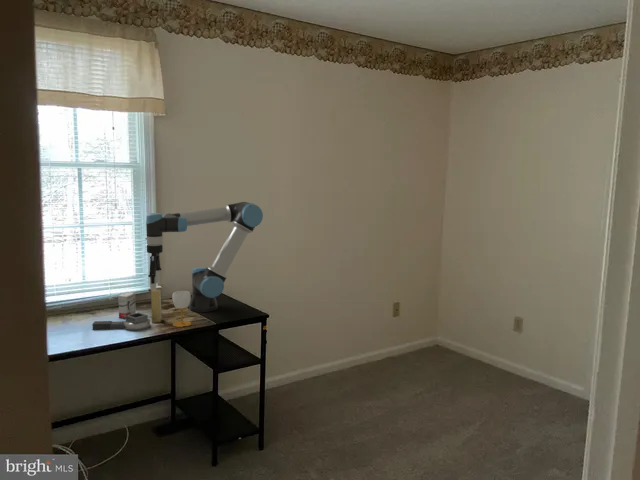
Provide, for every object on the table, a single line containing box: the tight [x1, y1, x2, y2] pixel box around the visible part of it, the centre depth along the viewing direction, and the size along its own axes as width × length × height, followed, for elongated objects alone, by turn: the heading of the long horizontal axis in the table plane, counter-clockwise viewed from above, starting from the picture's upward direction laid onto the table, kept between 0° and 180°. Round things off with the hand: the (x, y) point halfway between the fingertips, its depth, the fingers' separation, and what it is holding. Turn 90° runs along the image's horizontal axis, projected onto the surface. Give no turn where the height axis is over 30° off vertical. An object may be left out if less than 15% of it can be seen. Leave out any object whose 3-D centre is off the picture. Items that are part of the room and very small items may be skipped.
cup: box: [171, 290, 192, 328], centre depth 266 cm, size 9×9×16 cm
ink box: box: [117, 291, 137, 319], centre depth 278 cm, size 9×5×12 cm, turn 168°
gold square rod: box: [150, 288, 162, 323], centre depth 270 cm, size 4×4×16 cm
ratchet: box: [91, 311, 151, 332], centre depth 260 cm, size 26×12×6 cm, turn 99°
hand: (155, 286), depth 269 cm, fingers open, 13 cm apart
